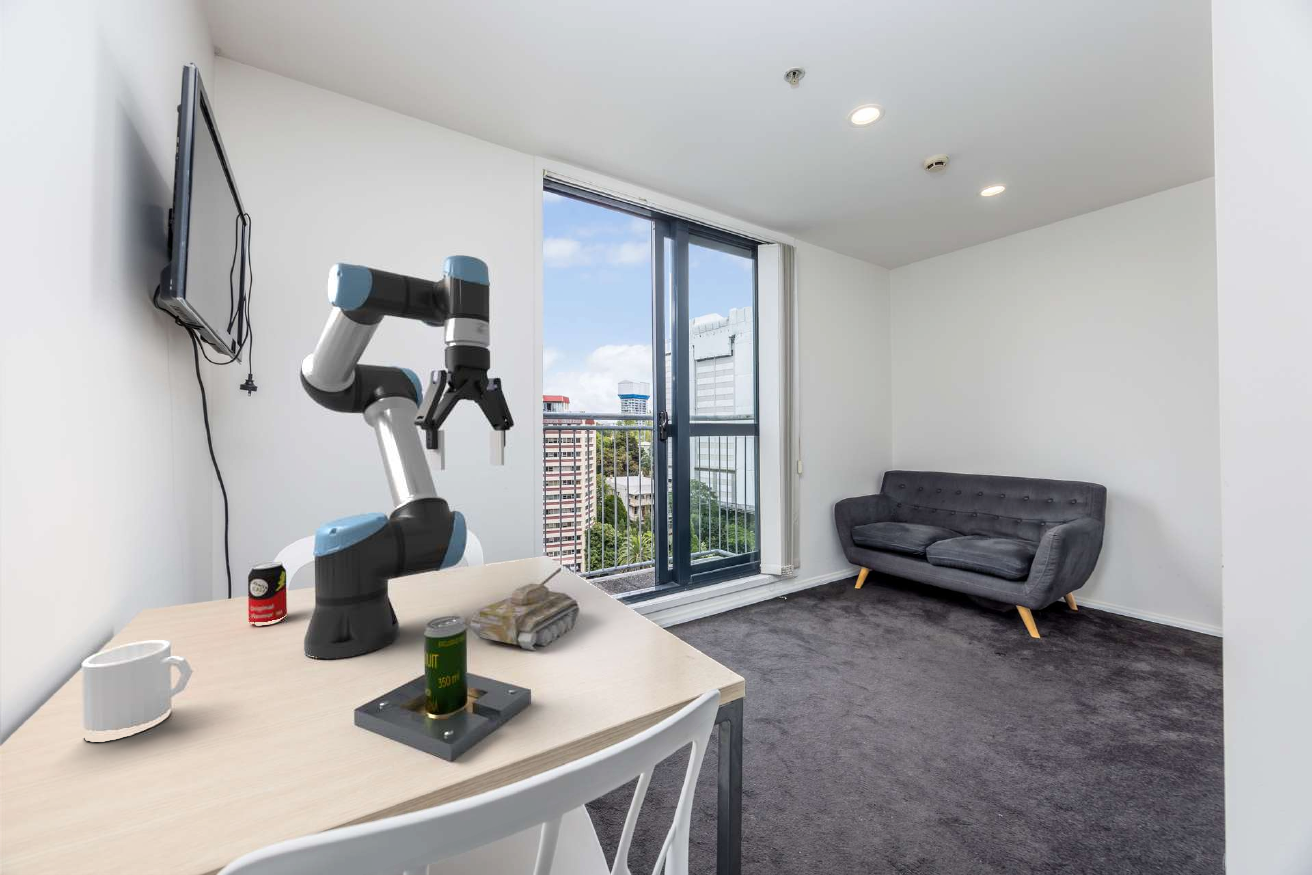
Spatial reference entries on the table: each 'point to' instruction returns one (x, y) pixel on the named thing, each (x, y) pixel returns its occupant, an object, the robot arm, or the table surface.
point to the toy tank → (527, 616)
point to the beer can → (445, 666)
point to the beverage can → (267, 592)
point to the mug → (130, 685)
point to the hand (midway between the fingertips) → (469, 467)
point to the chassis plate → (445, 737)
